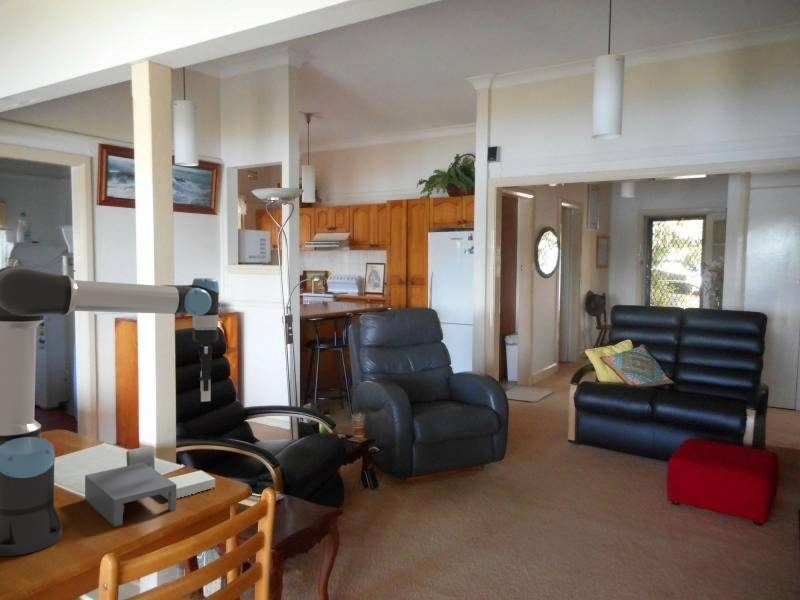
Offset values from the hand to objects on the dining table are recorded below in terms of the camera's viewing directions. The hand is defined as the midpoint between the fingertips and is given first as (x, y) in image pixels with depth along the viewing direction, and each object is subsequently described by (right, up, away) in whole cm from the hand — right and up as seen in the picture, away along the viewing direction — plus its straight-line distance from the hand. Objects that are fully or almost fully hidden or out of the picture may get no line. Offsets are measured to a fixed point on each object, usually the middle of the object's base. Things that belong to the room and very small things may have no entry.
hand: (205, 395), depth 180 cm
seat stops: (-17, -27, -24) cm, 39 cm away
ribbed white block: (-3, -26, -9) cm, 28 cm away
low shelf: (-14, -27, -21) cm, 36 cm away
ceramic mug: (-21, -25, +3) cm, 33 cm away
